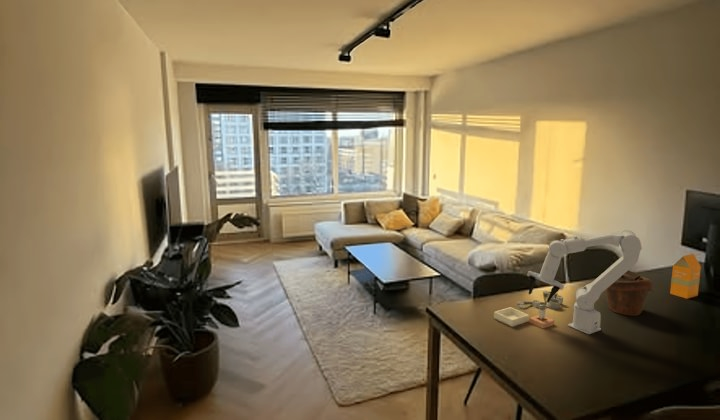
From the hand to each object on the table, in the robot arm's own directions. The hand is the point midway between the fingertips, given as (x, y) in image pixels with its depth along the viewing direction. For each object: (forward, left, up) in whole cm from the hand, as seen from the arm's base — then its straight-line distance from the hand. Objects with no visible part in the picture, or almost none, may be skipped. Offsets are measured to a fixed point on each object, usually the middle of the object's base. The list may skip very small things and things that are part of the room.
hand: (538, 297), depth 179 cm
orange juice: (-16, -84, -11) cm, 87 cm away
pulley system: (+11, -18, -11) cm, 24 cm away
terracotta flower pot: (-12, -42, -11) cm, 45 cm away
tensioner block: (-2, +1, -11) cm, 11 cm away
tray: (+7, +9, -11) cm, 15 cm away
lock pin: (-2, +1, -11) cm, 11 cm away
